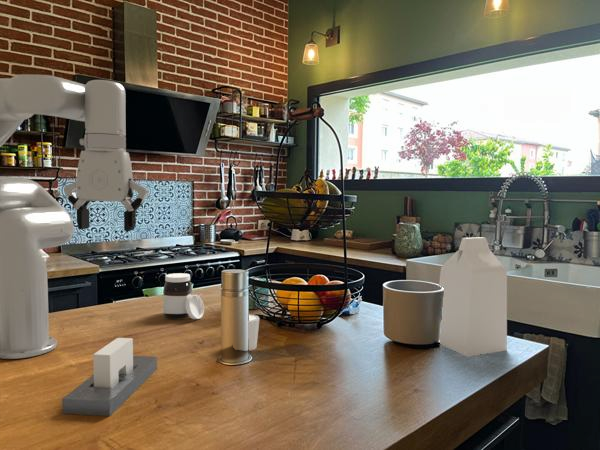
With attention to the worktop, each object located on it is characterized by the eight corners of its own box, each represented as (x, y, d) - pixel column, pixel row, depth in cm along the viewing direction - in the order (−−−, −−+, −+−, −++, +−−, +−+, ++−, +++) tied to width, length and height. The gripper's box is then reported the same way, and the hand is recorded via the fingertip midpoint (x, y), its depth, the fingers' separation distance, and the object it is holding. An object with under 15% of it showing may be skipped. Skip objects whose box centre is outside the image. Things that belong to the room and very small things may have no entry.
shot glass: (254, 353, 106) (254, 322, 106) (225, 350, 108) (225, 320, 107) (262, 343, 113) (263, 314, 112) (235, 341, 114) (235, 312, 114)
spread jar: (167, 311, 140) (166, 272, 139) (206, 310, 141) (206, 272, 140) (159, 322, 128) (159, 280, 127) (202, 322, 130) (202, 280, 129)
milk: (471, 335, 122) (475, 234, 119) (506, 350, 111) (512, 239, 109) (433, 341, 117) (437, 236, 115) (466, 356, 106) (472, 241, 104)
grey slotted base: (62, 413, 77) (62, 398, 77) (119, 366, 97) (118, 354, 97) (109, 416, 77) (109, 401, 76) (157, 368, 97) (156, 356, 96)
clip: (94, 399, 83) (93, 354, 82) (118, 378, 92) (117, 337, 91) (110, 400, 82) (109, 355, 82) (133, 379, 91) (132, 338, 91)
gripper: (53, 142, 92) (55, 229, 94) (139, 144, 91) (139, 233, 92) (75, 145, 100) (76, 226, 101) (154, 147, 98) (154, 229, 100)
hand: (106, 229), depth 97 cm, fingers open, 9 cm apart
